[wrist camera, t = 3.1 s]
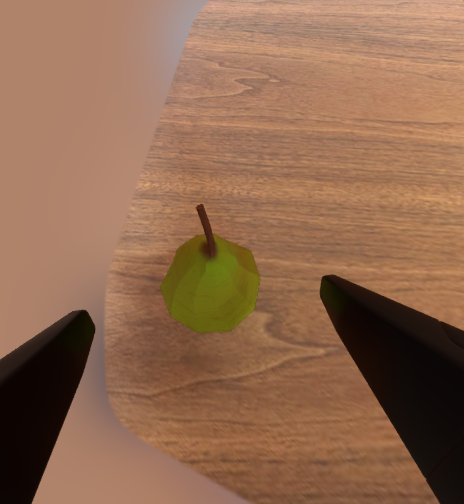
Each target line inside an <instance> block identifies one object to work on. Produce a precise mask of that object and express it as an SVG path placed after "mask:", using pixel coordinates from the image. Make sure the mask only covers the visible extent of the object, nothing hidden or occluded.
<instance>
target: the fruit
mask: <svg viewBox="0 0 464 504" xmlns="http://www.w3.org/2000/svg"><path fill="white" fill-rule="evenodd" d="M196 209H197V212H198V215H199V217H200V220H201V223H202V226H203V229H204V232H205V235H196V236H195V237H193V238H192V239H190V240H189V241H187V242H186V243H184V244H183V245H181V246H180V247H179V248H178V250H177V251H176V254H175V257H174V260H173V262H172V264H171V266H170V268H169V270H168V272H167V274H166V277H165V279H164V281H163V283H162V285H161V287H160V289H161V291H162V294H163V297H164V299H165V302H166V305H167V307H168V310H169V313H170V315H171V317H172V318H174V319H175V320H177V321H179V322H180V323H182V324H184V325H185V326H187V327H189V328H190V329H192V330H193V331H195V332H197V333H209V332H225V331H231V330H232V329H234V328H235V327H236V326H237V325H238V324H239V323H240V322H241V321H242V320H243V319H244V318H246V317H247V316H248V315H249V314H250V313H251V312H252V311H253V310H254V309H255V304H256V299H257V294H258V289H259V284H260V276H259V273H258V270H257V267H256V264H255V261H254V257H253V254H252V252H251V250H249V249H246V248H244V247H241V246H239V245H237V244H234V243H232V242H230V241H227V240H225V239H223V238H221V237H219V236H217V235H215V234H212V230H211V226H210V223H209V220H208V217H207V214H206V212H205V209H204V206H203V204H200V205H198V206H197V207H196Z"/></svg>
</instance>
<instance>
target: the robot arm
mask: <svg viewBox="0 0 464 504" xmlns="http://www.w3.org/2000/svg"><path fill="white" fill-rule="evenodd" d="M320 297H321V300H322V302H323V304H324V306H325V308H326V311H327V313H328V315H329V317H330V319H331V321H332V323H333V325H334V328H335V330H336V332H337V333H338V335H339V337H340V339H341V340H342V342H343V343H344V345H345V347H346V348H347V350H348V352H349V353H350V355H351V357H352V358H353V360H354V362H355V363H356V365H357V367H358V368H359V370H360V372H361V373H362V375H363V377H364V378H365V380H366V381H367V383H368V385H369V386H370V388H371V390H372V391H373V393H374V395H375V396H376V398H377V400H378V401H379V403H380V405H381V406H382V408H383V410H384V411H385V413H386V415H387V416H388V418H389V419H390V421H391V423H392V424H393V426H394V428H395V429H396V431H397V433H398V434H399V436H400V438H401V439H402V441H403V443H404V444H405V446H406V448H407V449H408V451H409V453H410V454H411V456H412V458H413V459H414V461H415V462H416V464H417V466H418V467H419V469H420V471H421V472H422V474H423V476H424V477H425V478H426V481H427V483H428V484H429V486H430V488H431V489H432V491H433V493H434V494H435V496H436V498H437V499H438V501H439V503H440V504H464V331H463V330H461V329H458V328H456V327H454V326H451V325H449V324H447V323H445V322H442V321H440V322H439V320H437V319H435V318H433V317H431V316H428V315H426V314H424V313H421V312H419V311H417V310H414V309H412V308H410V307H407V306H405V305H403V304H400V303H398V302H396V301H394V300H391V299H389V298H387V297H384V296H382V295H380V294H377V293H375V292H373V291H370V290H368V289H366V288H364V287H361V286H359V285H357V284H354V283H352V282H350V281H347V280H345V279H343V278H340V277H338V276H336V275H325V276H323V277H322V279H321V287H320ZM94 334H95V325H94V323H93V321H92V319H91V317H90V315H89V313H88V312H87V311H86V310H78V311H72V312H71V313H69V314H68V315H66V316H65V317H63V318H62V319H60V320H59V321H57V322H56V323H54V324H53V325H51V326H50V327H48V328H47V329H45V330H44V331H42V332H41V333H39V334H38V335H36V336H35V337H33V338H32V339H30V340H29V341H27V342H26V343H24V344H23V345H21V346H20V347H18V348H17V349H15V350H14V351H12V352H11V353H9V354H8V355H6V356H5V357H3V358H2V359H0V504H32V501H33V498H34V496H35V494H36V491H37V489H38V486H39V484H40V481H41V478H42V476H43V474H44V471H45V468H46V466H47V463H48V461H49V458H50V456H51V453H52V451H53V448H54V446H55V443H56V441H57V438H58V436H59V433H60V430H61V428H62V426H63V423H64V420H65V418H66V416H67V413H68V410H69V408H70V405H71V403H72V400H73V398H74V395H75V393H76V390H77V388H78V385H79V383H80V380H81V378H82V375H83V372H84V369H85V365H86V362H87V358H88V355H89V351H90V348H91V345H92V341H93V338H94Z"/></svg>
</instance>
